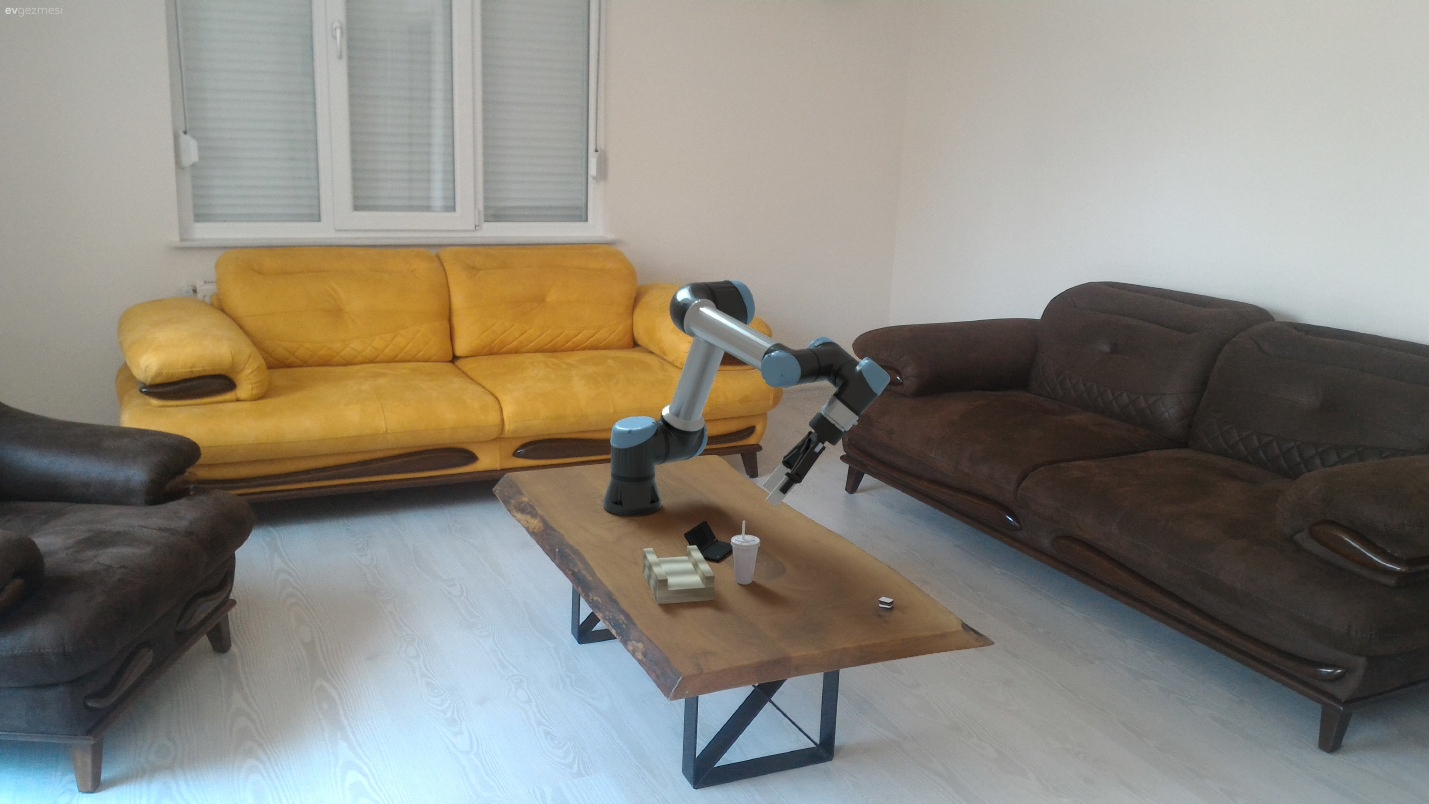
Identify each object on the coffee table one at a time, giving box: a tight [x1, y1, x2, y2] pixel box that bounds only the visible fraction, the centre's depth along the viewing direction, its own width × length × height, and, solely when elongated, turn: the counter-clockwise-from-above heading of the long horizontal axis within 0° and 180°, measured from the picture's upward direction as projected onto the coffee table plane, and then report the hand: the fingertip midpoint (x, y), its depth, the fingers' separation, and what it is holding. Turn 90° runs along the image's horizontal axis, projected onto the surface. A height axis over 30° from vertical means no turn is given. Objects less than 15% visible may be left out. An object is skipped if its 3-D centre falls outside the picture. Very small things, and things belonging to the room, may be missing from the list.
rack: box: [642, 545, 716, 605], centre depth 220 cm, size 17×12×6 cm
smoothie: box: [730, 520, 761, 585], centre depth 223 cm, size 6×6×14 cm
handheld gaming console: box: [683, 519, 733, 563], centre depth 240 cm, size 12×7×10 cm
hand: (768, 496), depth 221 cm, fingers open, 13 cm apart
